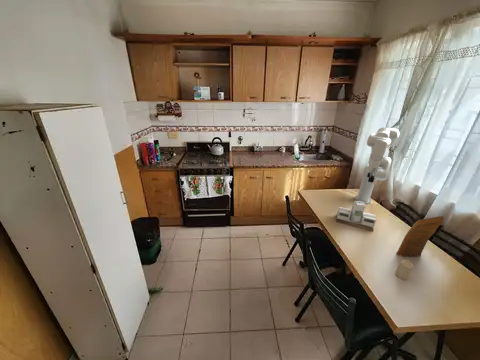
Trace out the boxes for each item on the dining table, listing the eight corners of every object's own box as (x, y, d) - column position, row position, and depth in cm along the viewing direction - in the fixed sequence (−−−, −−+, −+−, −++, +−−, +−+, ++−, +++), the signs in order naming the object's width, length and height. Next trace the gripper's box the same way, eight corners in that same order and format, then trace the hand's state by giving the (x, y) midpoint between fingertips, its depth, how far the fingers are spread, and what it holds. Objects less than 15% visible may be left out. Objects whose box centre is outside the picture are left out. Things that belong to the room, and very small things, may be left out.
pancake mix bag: (429, 258, 124) (450, 218, 112) (399, 259, 122) (417, 220, 110) (419, 250, 130) (438, 212, 118) (391, 251, 128) (407, 212, 117)
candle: (395, 269, 115) (402, 256, 111) (408, 275, 112) (415, 261, 108) (394, 276, 111) (401, 262, 107) (407, 282, 108) (414, 267, 104)
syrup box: (357, 217, 156) (362, 201, 150) (360, 222, 151) (365, 205, 145) (349, 217, 157) (354, 200, 151) (352, 221, 151) (357, 204, 145)
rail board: (336, 215, 163) (339, 205, 160) (371, 223, 154) (375, 213, 151) (336, 221, 155) (338, 212, 152) (373, 231, 146) (376, 221, 142)
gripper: (369, 153, 154) (363, 174, 161) (371, 159, 140) (364, 183, 147) (381, 154, 151) (374, 176, 158) (384, 161, 137) (377, 185, 144)
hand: (369, 179), depth 152 cm, fingers open, 9 cm apart
